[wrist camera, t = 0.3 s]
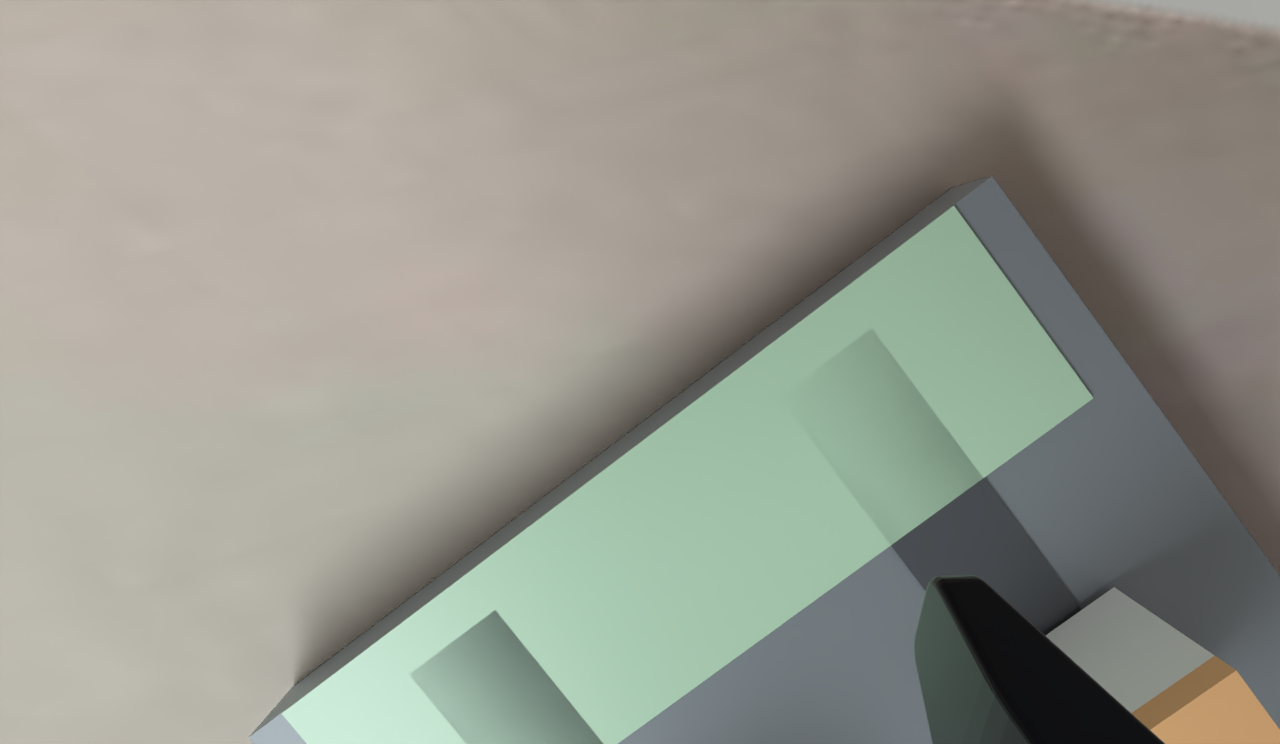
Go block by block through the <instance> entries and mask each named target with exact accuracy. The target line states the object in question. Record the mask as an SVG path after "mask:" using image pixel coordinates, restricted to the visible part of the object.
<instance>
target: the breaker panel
mask: <svg viewBox="0 0 1280 744" xmlns="http://www.w3.org/2000/svg"><path fill="white" fill-rule="evenodd" d="M954 575H973V576H977V577H979V578H981V579H982V580H984V581H985V582H986V583H987V584H989V585H990V586H991V587H992V588H993V589H994V590H995V591H996V592H997V593H999V594H1000V595H1001V596H1002V597H1003V598H1004V599H1005V600H1006V601H1007V602H1009V603H1010V604H1011V605H1012V606H1013V607H1014V608H1015V609H1016V610H1017V611H1019V612H1020V613H1021V614H1022V615H1023V616H1024V617H1025V618H1026V619H1027V620H1028V621H1030V622H1031V623H1032V624H1033V625H1034V626H1035V627H1036V628H1037V629H1038V630H1040V631H1041V632H1042V633H1043V634H1044V635H1047V634H1048V633H1050V632H1051V631H1053V630H1054V629H1055V628H1057V627H1058V626H1060V625H1061V624H1062V623H1064V622H1065V621H1067V620H1068V619H1070V618H1071V617H1072V616H1074V615H1075V614H1077V613H1078V612H1079V611H1081V610H1082V609H1084V608H1085V607H1087V606H1088V605H1089V604H1091V603H1092V602H1094V601H1095V600H1096V599H1098V598H1099V597H1101V596H1102V595H1104V594H1105V593H1106V592H1108V591H1109V590H1111V589H1112V588H1113V587H1115V588H1116V589H1118V590H1119V591H1121V592H1122V593H1124V594H1125V595H1126V596H1128V597H1129V598H1131V599H1132V600H1134V601H1135V602H1137V603H1138V604H1140V605H1141V606H1143V607H1144V608H1146V609H1147V610H1149V611H1150V612H1151V613H1153V614H1154V615H1156V616H1157V617H1159V618H1160V619H1162V620H1163V621H1165V622H1166V623H1168V624H1169V625H1171V626H1172V627H1173V628H1175V629H1176V630H1178V631H1179V632H1181V633H1182V634H1184V635H1185V636H1187V637H1188V638H1190V639H1191V640H1193V641H1194V642H1196V643H1197V644H1198V645H1200V646H1201V647H1203V648H1204V649H1206V650H1207V651H1209V652H1210V653H1212V654H1213V655H1215V656H1216V657H1218V658H1219V659H1220V660H1222V661H1223V662H1225V663H1226V664H1228V665H1229V666H1231V667H1232V668H1234V669H1235V670H1237V672H1238V673H1239V675H1240V676H1241V677H1242V679H1243V680H1244V681H1245V683H1246V684H1247V685H1248V687H1249V688H1250V690H1251V691H1252V692H1253V694H1254V695H1255V696H1256V698H1257V699H1258V701H1259V702H1260V703H1261V705H1262V706H1263V707H1264V709H1265V710H1266V711H1267V713H1268V714H1269V716H1270V717H1271V718H1272V720H1273V721H1274V722H1275V724H1276V725H1277V727H1278V728H1279V729H1280V575H1279V574H1278V572H1277V571H1276V570H1275V568H1274V567H1273V565H1272V564H1271V563H1270V561H1269V560H1268V559H1267V557H1266V556H1265V554H1264V553H1263V552H1262V550H1261V549H1260V547H1259V546H1258V545H1257V543H1256V542H1255V540H1254V539H1253V538H1252V536H1251V535H1250V534H1249V532H1248V531H1247V529H1246V528H1245V527H1244V525H1243V524H1242V522H1241V521H1240V520H1239V518H1238V517H1237V515H1236V514H1235V513H1234V511H1233V510H1232V508H1231V507H1230V506H1229V504H1228V503H1227V502H1226V500H1225V499H1224V497H1223V496H1222V495H1221V493H1220V492H1219V490H1218V489H1217V488H1216V486H1215V485H1214V483H1213V482H1212V481H1211V479H1210V478H1209V477H1208V475H1207V474H1206V472H1205V471H1204V470H1203V468H1202V467H1201V465H1200V464H1199V463H1198V461H1197V460H1196V458H1195V457H1194V456H1193V454H1192V453H1191V451H1190V450H1189V449H1188V447H1187V446H1186V445H1185V443H1184V442H1183V440H1182V439H1181V438H1180V436H1179V435H1178V433H1177V432H1176V431H1175V429H1174V428H1173V426H1172V425H1171V424H1170V422H1169V421H1168V419H1167V418H1166V417H1165V415H1164V414H1163V413H1162V411H1161V410H1160V408H1159V407H1158V406H1157V404H1156V403H1155V401H1154V400H1153V399H1152V397H1151V396H1150V394H1149V393H1148V392H1147V390H1146V389H1145V388H1144V386H1143V385H1142V383H1141V382H1140V381H1139V379H1138V378H1137V376H1136V375H1135V374H1134V372H1133V371H1132V369H1131V368H1130V367H1129V365H1128V364H1127V362H1126V361H1125V360H1124V358H1123V357H1122V356H1121V354H1120V353H1119V351H1118V350H1117V349H1116V347H1115V346H1114V344H1113V343H1112V342H1111V340H1110V339H1109V337H1108V336H1107V335H1106V333H1105V332H1104V331H1103V329H1102V328H1101V326H1100V325H1099V324H1098V322H1097V321H1096V319H1095V318H1094V317H1093V315H1092V314H1091V312H1090V311H1089V310H1088V308H1087V307H1086V305H1085V304H1084V303H1083V301H1082V300H1081V299H1080V297H1079V296H1078V294H1077V293H1076V292H1075V290H1074V289H1073V287H1072V286H1071V285H1070V283H1069V282H1068V280H1067V279H1066V278H1065V276H1064V275H1063V274H1062V272H1061V271H1060V269H1059V268H1058V267H1057V265H1056V264H1055V262H1054V261H1053V260H1052V258H1051V257H1050V255H1049V254H1048V253H1047V251H1046V250H1045V248H1044V247H1043V246H1042V244H1041V243H1040V242H1039V240H1038V239H1037V237H1036V236H1035V235H1034V233H1033V232H1032V230H1031V229H1030V228H1029V226H1028V225H1027V223H1026V222H1025V221H1024V219H1023V218H1022V217H1021V215H1020V214H1019V212H1018V211H1017V210H1016V208H1015V207H1014V205H1013V204H1012V203H1011V201H1010V200H1009V198H1008V197H1007V196H1006V194H1005V193H1004V191H1003V190H1002V189H1001V187H1000V186H999V185H998V183H997V182H996V180H995V179H994V178H993V176H990V177H987V178H983V179H979V180H976V181H972V182H969V183H965V184H962V185H958V186H955V187H952V188H951V189H949V190H948V191H947V192H945V193H944V194H943V195H941V196H940V197H939V198H938V199H936V200H935V201H934V202H932V203H931V204H930V205H928V206H927V207H926V208H924V209H923V210H922V211H920V212H919V213H918V214H916V215H915V216H914V217H912V218H911V219H910V220H908V221H907V222H906V223H905V224H903V225H902V226H901V227H899V228H898V229H897V230H895V231H894V232H893V233H891V234H890V235H889V236H887V237H886V238H885V239H883V240H882V241H881V242H879V243H878V244H877V245H875V246H874V247H873V248H872V249H870V250H869V251H868V252H866V253H865V254H864V255H862V256H861V257H860V258H858V259H857V260H856V261H854V262H853V263H852V264H850V265H849V266H848V267H846V268H845V269H844V270H842V271H841V272H840V273H838V274H837V275H836V276H835V277H833V278H832V279H831V280H829V281H828V282H827V283H825V284H824V285H823V286H821V287H820V288H819V289H817V290H816V291H815V292H813V293H812V294H811V295H809V296H808V297H807V298H805V299H804V300H803V301H802V302H800V303H799V304H798V305H796V306H795V307H794V308H792V309H791V310H790V311H788V312H787V313H786V314H784V315H783V316H782V317H780V318H779V319H778V320H776V321H775V322H774V323H772V324H771V325H770V326H769V327H767V328H766V329H765V330H763V331H762V332H761V333H759V334H758V335H757V336H755V337H754V338H753V339H751V340H750V341H749V342H747V343H746V344H745V345H743V346H742V347H741V348H739V349H738V350H737V351H736V352H734V353H733V354H732V355H730V356H729V357H728V358H726V359H725V360H724V361H722V362H721V363H720V364H718V365H717V366H716V367H714V368H713V369H712V370H710V371H709V372H708V373H706V374H705V375H704V376H703V377H701V378H700V379H699V380H697V381H696V382H695V383H693V384H692V385H691V386H689V387H688V388H687V389H685V390H684V391H683V392H681V393H680V394H679V395H677V396H676V397H675V398H673V399H672V400H671V401H669V402H668V403H667V404H666V405H664V406H663V407H662V408H660V409H659V410H658V411H656V412H655V413H654V414H652V415H651V416H650V417H648V418H647V419H646V420H644V421H643V422H642V423H640V424H639V425H638V426H636V427H635V428H634V429H633V430H631V431H630V432H629V433H627V434H626V435H625V436H623V437H622V438H621V439H619V440H618V441H617V442H615V443H614V444H613V445H611V446H610V447H609V448H607V449H606V450H605V451H603V452H602V453H601V454H600V455H598V456H597V457H596V458H594V459H593V460H592V461H590V462H589V463H588V464H586V465H585V466H584V467H582V468H581V469H580V470H578V471H577V472H576V473H574V474H573V475H572V476H570V477H569V478H568V479H567V480H565V481H564V482H563V483H561V484H560V485H559V486H557V487H556V488H555V489H553V490H552V491H551V492H549V493H548V494H547V495H545V496H544V497H543V498H541V499H540V500H539V501H537V502H536V503H535V504H533V505H532V506H531V507H530V508H528V509H527V510H526V511H524V512H523V513H522V514H520V515H519V516H518V517H516V518H515V519H514V520H512V521H511V522H510V523H508V524H507V525H506V526H504V527H503V528H502V529H500V530H499V531H498V532H497V533H495V534H494V535H493V536H491V537H490V538H489V539H487V540H486V541H485V542H483V543H482V544H481V545H479V546H478V547H477V548H475V549H474V550H473V551H471V552H470V553H469V554H467V555H466V556H465V557H464V558H462V559H461V560H460V561H458V562H457V563H456V564H454V565H453V566H452V567H450V568H449V569H448V570H446V571H445V572H444V573H442V574H441V575H440V576H438V577H437V578H436V579H434V580H433V581H432V582H431V583H429V584H428V585H427V586H425V587H424V588H423V589H421V590H420V591H419V592H417V593H416V594H415V595H413V596H412V597H411V598H409V599H408V600H407V601H405V602H404V603H403V604H401V605H400V606H399V607H398V608H396V609H395V610H394V611H392V612H391V613H390V614H388V615H387V616H386V617H384V618H383V619H382V620H380V621H379V622H378V623H376V624H375V625H374V626H372V627H371V628H370V629H368V630H367V631H366V632H364V633H363V634H362V635H361V636H359V637H358V638H357V639H355V640H354V641H353V642H351V643H350V644H349V645H347V646H346V647H345V648H343V649H342V650H341V651H339V652H338V653H337V654H335V655H334V656H333V657H331V658H330V659H329V660H328V661H326V662H325V663H324V664H322V665H321V666H320V667H318V668H317V669H316V670H314V671H313V672H312V673H310V674H309V675H308V676H306V677H305V678H304V679H302V680H301V681H300V682H298V683H297V684H296V685H295V686H293V687H292V688H291V689H290V690H289V692H288V693H287V694H286V695H285V696H284V697H283V699H282V700H281V701H280V702H279V703H278V704H277V705H276V707H275V708H274V709H273V710H272V711H271V712H270V714H269V715H268V716H267V717H266V718H265V719H264V721H263V722H262V723H261V724H260V725H259V726H258V727H257V729H256V730H255V731H254V732H253V733H252V734H251V736H250V737H249V739H250V740H251V741H252V742H253V743H254V744H933V743H932V739H931V734H930V729H929V724H928V720H927V715H926V710H925V705H924V701H923V696H922V691H921V686H920V682H919V677H918V672H917V667H916V662H915V654H914V639H915V633H916V629H917V625H918V621H919V617H920V613H921V609H922V605H923V601H924V597H925V592H926V588H927V586H928V583H929V582H930V580H931V579H932V578H934V577H937V576H954Z"/></svg>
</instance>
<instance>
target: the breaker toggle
mask: <svg viewBox="0 0 1280 744" xmlns="http://www.w3.org/2000/svg"><path fill="white" fill-rule="evenodd" d="M1045 636H1046V637H1047V638H1048V639H1050V640H1051V641H1052V642H1053V643H1054V644H1055V645H1056V646H1057V647H1058V648H1060V649H1061V650H1062V651H1063V652H1064V653H1065V654H1066V655H1067V656H1068V657H1070V658H1071V659H1072V660H1073V661H1074V662H1075V663H1076V664H1077V665H1078V666H1080V667H1081V668H1082V669H1083V670H1084V671H1085V672H1086V673H1087V674H1088V675H1090V676H1091V677H1092V678H1093V679H1094V680H1095V681H1096V682H1097V683H1098V684H1100V685H1101V686H1102V687H1103V688H1104V689H1105V690H1106V691H1107V692H1108V693H1109V694H1111V695H1112V696H1113V697H1114V698H1115V699H1116V700H1117V701H1118V702H1119V703H1121V704H1122V705H1123V706H1124V707H1125V708H1126V709H1127V710H1128V711H1129V712H1131V713H1132V714H1133V715H1134V716H1135V717H1136V718H1137V719H1138V720H1139V721H1141V722H1142V723H1143V724H1144V725H1145V726H1146V727H1147V728H1148V729H1149V730H1151V731H1152V732H1153V733H1154V734H1155V735H1156V736H1157V737H1158V738H1159V739H1161V740H1162V741H1163V742H1164V743H1165V744H1280V729H1279V728H1278V727H1277V725H1276V724H1275V722H1274V721H1273V720H1272V718H1271V717H1270V716H1269V714H1268V713H1267V711H1266V710H1265V709H1264V707H1263V706H1262V705H1261V703H1260V702H1259V701H1258V699H1257V698H1256V696H1255V695H1254V694H1253V692H1252V691H1251V690H1250V688H1249V687H1248V685H1247V684H1246V683H1245V681H1244V680H1243V679H1242V677H1241V676H1240V675H1239V673H1238V672H1237V670H1235V669H1234V668H1232V667H1231V666H1229V665H1228V664H1226V663H1225V662H1223V661H1222V660H1220V659H1219V658H1218V657H1216V656H1215V655H1213V654H1212V653H1210V652H1209V651H1207V650H1206V649H1204V648H1203V647H1201V646H1200V645H1198V644H1197V643H1196V642H1194V641H1193V640H1191V639H1190V638H1188V637H1187V636H1185V635H1184V634H1182V633H1181V632H1179V631H1178V630H1176V629H1175V628H1173V627H1172V626H1171V625H1169V624H1168V623H1166V622H1165V621H1163V620H1162V619H1160V618H1159V617H1157V616H1156V615H1154V614H1153V613H1151V612H1150V611H1149V610H1147V609H1146V608H1144V607H1143V606H1141V605H1140V604H1138V603H1137V602H1135V601H1134V600H1132V599H1131V598H1129V597H1128V596H1126V595H1125V594H1124V593H1122V592H1121V591H1119V590H1118V589H1116V588H1115V587H1113V588H1112V589H1111V590H1109V591H1108V592H1106V593H1105V594H1104V595H1102V596H1101V597H1099V598H1098V599H1096V600H1095V601H1094V602H1092V603H1091V604H1089V605H1088V606H1087V607H1085V608H1084V609H1082V610H1081V611H1079V612H1078V613H1077V614H1075V615H1074V616H1072V617H1071V618H1070V619H1068V620H1067V621H1065V622H1064V623H1062V624H1061V625H1060V626H1058V627H1057V628H1055V629H1054V630H1053V631H1051V632H1050V633H1048V634H1047V635H1045Z"/></svg>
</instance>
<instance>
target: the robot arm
mask: <svg viewBox="0 0 1280 744" xmlns="http://www.w3.org/2000/svg"><path fill="white" fill-rule="evenodd" d="M914 654H915V662H916V667H917V672H918V677H919V682H920V686H921V691H922V696H923V701H924V705H925V710H926V715H927V720H928V724H929V729H930V734H931V739H932V743H933V744H1165V743H1164V742H1163V741H1162V740H1161V739H1159V738H1158V737H1157V736H1156V735H1155V734H1154V733H1153V732H1152V731H1151V730H1149V729H1148V728H1147V727H1146V726H1145V725H1144V724H1143V723H1142V722H1141V721H1139V720H1138V719H1137V718H1136V717H1135V716H1134V715H1133V714H1132V713H1131V712H1129V711H1128V710H1127V709H1126V708H1125V707H1124V706H1123V705H1122V704H1121V703H1119V702H1118V701H1117V700H1116V699H1115V698H1114V697H1113V696H1112V695H1111V694H1109V693H1108V692H1107V691H1106V690H1105V689H1104V688H1103V687H1102V686H1101V685H1100V684H1098V683H1097V682H1096V681H1095V680H1094V679H1093V678H1092V677H1091V676H1090V675H1088V674H1087V673H1086V672H1085V671H1084V670H1083V669H1082V668H1081V667H1080V666H1078V665H1077V664H1076V663H1075V662H1074V661H1073V660H1072V659H1071V658H1070V657H1068V656H1067V655H1066V654H1065V653H1064V652H1063V651H1062V650H1061V649H1060V648H1058V647H1057V646H1056V645H1055V644H1054V643H1053V642H1052V641H1051V640H1050V639H1048V638H1047V637H1046V636H1045V635H1044V634H1043V633H1042V632H1041V631H1040V630H1038V629H1037V628H1036V627H1035V626H1034V625H1033V624H1032V623H1031V622H1030V621H1028V620H1027V619H1026V618H1025V617H1024V616H1023V615H1022V614H1021V613H1020V612H1019V611H1017V610H1016V609H1015V608H1014V607H1013V606H1012V605H1011V604H1010V603H1009V602H1007V601H1006V600H1005V599H1004V598H1003V597H1002V596H1001V595H1000V594H999V593H997V592H996V591H995V590H994V589H993V588H992V587H991V586H990V585H989V584H987V583H986V582H985V581H984V580H982V579H981V578H979V577H977V576H973V575H954V576H937V577H934V578H932V579H931V580H930V582H929V583H928V586H927V588H926V592H925V597H924V601H923V605H922V609H921V613H920V617H919V621H918V625H917V629H916V633H915V639H914Z"/></svg>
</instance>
